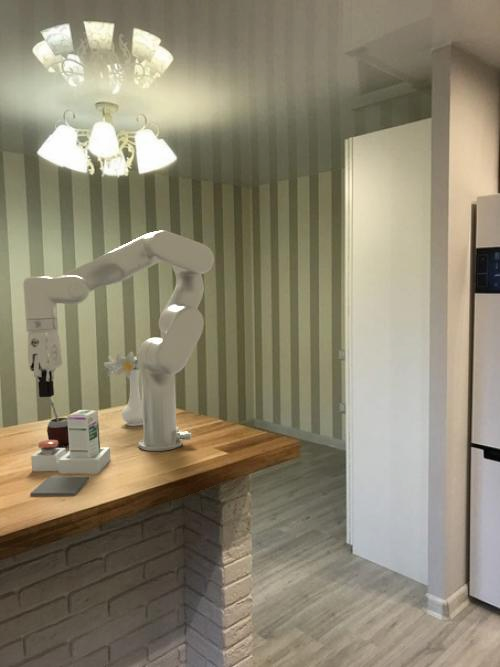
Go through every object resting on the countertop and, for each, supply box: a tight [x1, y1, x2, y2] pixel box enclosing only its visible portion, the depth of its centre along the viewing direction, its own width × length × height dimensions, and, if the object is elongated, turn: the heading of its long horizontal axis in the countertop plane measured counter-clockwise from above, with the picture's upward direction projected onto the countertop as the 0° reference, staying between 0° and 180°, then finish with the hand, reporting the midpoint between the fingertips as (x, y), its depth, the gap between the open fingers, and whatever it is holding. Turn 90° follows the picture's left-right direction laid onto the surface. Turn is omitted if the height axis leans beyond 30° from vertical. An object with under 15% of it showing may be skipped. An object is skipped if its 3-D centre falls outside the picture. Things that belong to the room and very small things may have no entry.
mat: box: [29, 476, 90, 497], centre depth 123 cm, size 10×10×1 cm
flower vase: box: [103, 351, 143, 427], centre depth 177 cm, size 13×18×25 cm
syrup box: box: [66, 409, 101, 458], centre depth 136 cm, size 6×6×14 cm
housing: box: [30, 446, 111, 475], centre depth 136 cm, size 18×10×4 cm, turn 88°
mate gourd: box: [45, 397, 69, 448], centre depth 154 cm, size 8×8×15 cm
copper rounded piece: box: [38, 439, 58, 455], centre depth 136 cm, size 5×5×6 cm
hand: (46, 396), depth 135 cm, fingers closed
